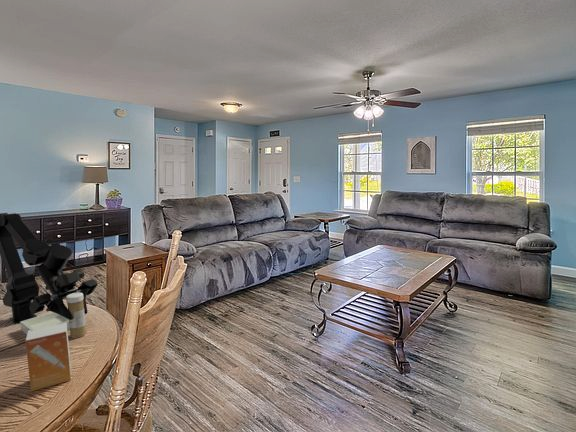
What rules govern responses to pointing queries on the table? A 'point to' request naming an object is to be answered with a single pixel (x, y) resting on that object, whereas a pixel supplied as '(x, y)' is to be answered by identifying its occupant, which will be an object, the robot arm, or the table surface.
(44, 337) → the small box
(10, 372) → the table surface
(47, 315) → the tray
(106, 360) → the table surface
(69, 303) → the sprinkles bottle
